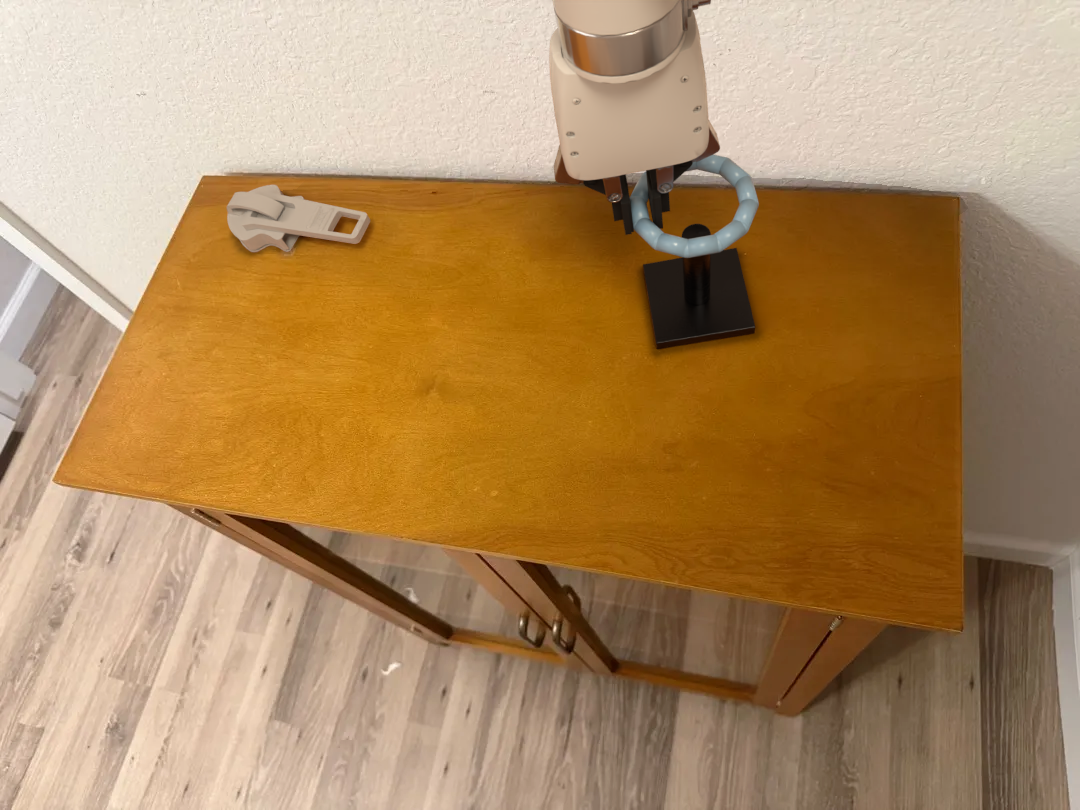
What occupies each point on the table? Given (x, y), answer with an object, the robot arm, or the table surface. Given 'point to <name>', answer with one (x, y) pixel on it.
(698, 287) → the post
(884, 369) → the table surface
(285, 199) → the zipper pull
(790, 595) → the table surface
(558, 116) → the robot arm
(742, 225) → the ring
